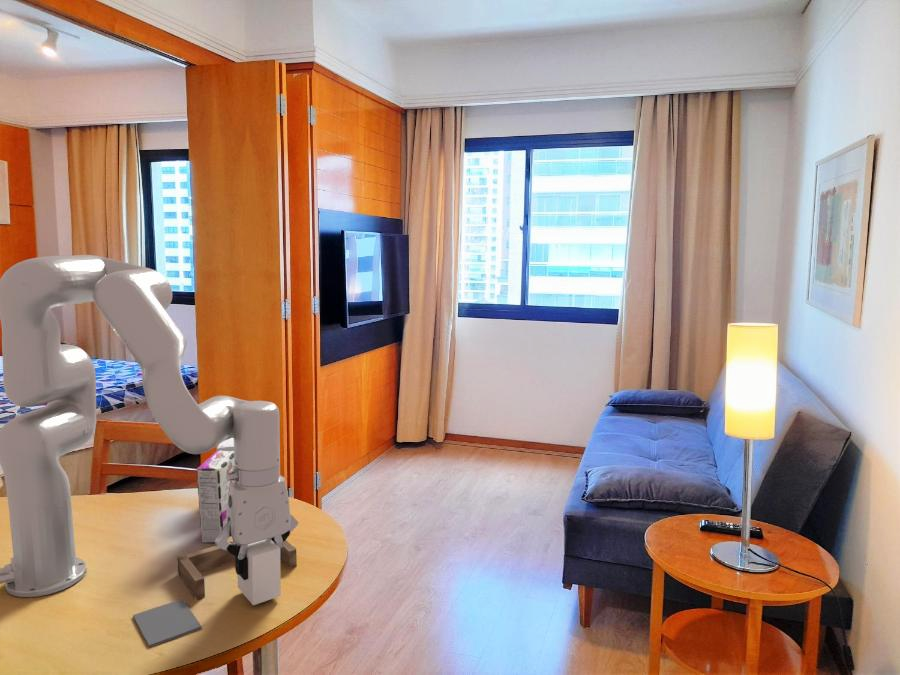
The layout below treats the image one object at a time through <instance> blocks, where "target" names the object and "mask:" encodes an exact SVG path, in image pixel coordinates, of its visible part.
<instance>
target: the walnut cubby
mask: <svg viewBox="0 0 900 675" xmlns="http://www.w3.org/2000/svg"><path fill="white" fill-rule="evenodd" d="M270 539H271V538H270ZM229 542H230V543H232V544H234V541H233V540H232V541H229ZM297 556H298V555H297V548H295V547H294V546H293V545H292V544H291V543H290V542H288V541H287V539H286V540H285V541H284V545H283V547H282V548H281V562H282V563H283V564H284V565H285V566H286V567H287V566H288V567H289V568H290V569H292V568H295V567H294V566H296V567H297V563H298V562H297ZM176 559H177V574H178V576H179V577H180V579H181V580H182V581H183V583H184V584H185V585H186V588H188V590H189V591H190V593H191V594H192V596H193V597H194V598H195V600H199V599H202V598H206V591H205V590H206V588H205V587H206V586H205V578H204V576H203V575H202V574H201V572H204V571H206V570H210V569H209V568H211V569H214V568H217V567H220V566H224V565H226V563H227V564H231V563H234V562H235V556H234V555H232V554H231V553H229V552H228V551H226V550H224V549H221V548H219V547H218V546H217V545H214V546H211V547H207V548H204V549H203V548H202V549H200V550H197V551H193V552H190V553H187V554H184V555H183V554H182V555H179V556H177V558H176ZM223 564H224V565H223ZM213 567H214V568H213ZM288 567H287V568H288ZM289 568H288V569H289ZM203 570H204V571H203Z"/></svg>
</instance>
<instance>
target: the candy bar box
mask: <svg viewBox="0 0 900 675" xmlns="http://www.w3.org/2000/svg"><path fill="white" fill-rule="evenodd" d="M233 466H234V451H222V450H219V451H217V450H216V451H215V452H214V453H213V454H212V455H210V457H209V458H207V459H206V460H205V461H204V462H203V463H202V464H201V465H200V466H198V467H197V468H196V478H197V479H196V480H197V496H198V507H199V510H198V511H199V522H200V523H199V526H200V527H199V528H200V529H199V530H200V541H201V543H202V544H215V540H216V539H217V538H218V536H219V535H220V533H221V532H222V530H223V529H224V527H225V526H226V516H227V503H228V496H229V491H230V486H231V483H232V482H234V481H232V480H231V481H227V479H226V474H227V473H230V472H231V471H233Z"/></svg>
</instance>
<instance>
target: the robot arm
mask: <svg viewBox="0 0 900 675" xmlns="http://www.w3.org/2000/svg"><path fill="white" fill-rule="evenodd" d="M172 301H173V288H172V286H171V284H170V282H169V280H168V279H167V278H166V277H165V276H164V275H163V274H162V273H161V272H159V271H157V270H155V269H152V268H149V267H146V266H141V265H137V264H133V263H129V262H126V261H125V262H124V261H121V260H117V259H113V258H108V257H105V256H100V255H95V254H77V255H75V254H74V255H73V254H72V255H71V254H70V255H47V256H39V257H33V258H28V259H25V260H21V261H20V262H17V263H15V264H14V265H12V266H11V267H9V268H8V269H7V270H6V271H5V272H4V273H3V274H2V276H1V277H0V323H1V351H2V352H1V353H2V354H1V355H2V376H3V377H2V378H3V379H2V380H3V381H2V382H3V388H4V393H5V395H6V397H7V399H8V400H9V401H10V403H12V404H13V405H15V406H18V407H21V408H32V407H37V406H42V405H44V404H46V406H43V407H39V408H35V409H33V410H31V411H30V410H29V411H28V412H25V413H22V414H20V415H18V416H16V417H13V418H12V419H10V420H8V421H7V422H6V423H5V424H4V425H3V426H2V427H1V428H0V467H1V470H2V472H3V473H2V474H3V477H4V481H5V489H6V496H7V506H8V513H9V523H10V524H9V525H10V534H11V535H10V536H11V543H12V555H13V557H11V558H10V563H9V564H5V565H4V567H0V585H1V584H4V583H5V590H6V592H7V593H8V594H10V595H12V596H14V597H20V598H35V597H42V596H46V595H50V594H55V593H58V592H59V591H62V590H65V589H67V588H69V587H71V586H74V585H75V584H77V583H78V582H79V581H81V579H82V578H83V577H84V576H85V575H86V573H87V564H86V562H85V560H83V559H81V558H79V557H77V556H76V554H77V553H76V544H75V532H74V519H73V506H72V495H71V484H70V480H69V477H68V474H67V473H66V471H65V470H64V468H63V467H62V466H61V464H60V460H59V459H60V458H61V457H63V456H64V455H66V454H68V453H71V452H72V451H74V450H77V449H79V448H80V447H82V446H84V445H85V444H87V442H89V441H90V440H91V439H92V437H93V435H94V433H95V430H96V425H97V377H96V368H95V365H94V363H93V360H92V358H91V357H90V355H89V354H88V353H87V352H86V351H85V350H84V349H82V348H81V347H79V346H77V345H73V344H67V343H63V344H62V343H61V337H62V336H61V328H60V327H61V326H60V323H59V320H58V318H57V316H56V315H55V313H54V312H53V310H52V309H54V308H58V307H64V306H70V305H79V304H85V303H91V302H92V303H94V305H95V306H96V309H98V311H99V312H100V314H101V315H102V316H103V319H105V320H106V322H107V323H108V324H109V326H110V327H111V329H112V330H113V331H114V333H115V334H116V335H117V337H118V338H119V339H120V341H121V342H122V343H123V344H124V346H125V347H126V349H127V350H128V351H129V353H130V354H131V356H132V357H133V359H134V360H135V361H136V362H137V364H138V366H139V367H140V370H141V381H142V388H143V392H144V397H145V401H146V404H147V406H148V409H149V411H150V413H151V415H152V416H153V418H154V420H155V421H156V422H157V424H158V425H159V427H160V428H161V429H162V430H163V432H164V433H165V435H166V436H167V438H169V440H170V441H171V442H172V443H173V444H174V446H176V447H177V448H179V449H180V450H181V451H183V452H185V453H188V454H192V455H201V454H205V453H208V452H209V451H211V450H214V448H217V447H218V445H219V444H220V443H221V442H223V441H225V440H228V439H230V438H234V466H233V471H231V472H230V473H227V474H226V479H227V481H231V480H232V481H234V482H232V483H231V486H230V491H229V496H228V503H227V516H226V526H225V527H224V529H223V530H222V532H221V533H220V535H219V536H218V538H217V539H216V540H215V543H214V545H215V546H218V547H219V548H221V549H224V550H226V551H228V552H229V553H231V554H232V555H234V556H235V561H234V565H235V567H234V568H235V569H234V570H235V573H236V575H237V574H238V575H240V576H241V577H242V579H243V580H247V579H248V559H247V557H246V556H245V554H246V550H247V546H248V544H251V543H255V542H259V541H262V540H266V539H269V538H271V540H272V541H273V542H274V543H275V544H276V545H277V546H279V547H280V563H281V562H282V561H281V548H282V547H283V545H284V541H285V540H286V541H287V538H289V536H290V535H291V532H293V531H294V530H295V529H296V528H297V527H298V525H299V521H298V520H297V519H296V517H294V516H293V515H292V514H291V509H290V508H291V507H290V500H289V499H290V497H289V492H288V488H287V486H288V485H287V482H286V479H285V477H284V476H282V475H281V463H280V462H281V457H280V456H281V449H280V448H281V445H280V444H281V437H280V436H281V435H280V434H281V433H280V430H281V428H280V425H281V423H280V422H281V419H280V408H279V407H278V406H277V405H276V403H274V402H271V401H265V400H251V401H250V400H245V399H240V398H237V397H234V396H229V395H216V396H213V397H210V398H208V399H206V400H204V401H203V402H200V403H199V404H198V403H197V401H196V400H195V398H194V397H193V396H192V394H191V392H190V391H189V389H188V387H187V386H186V384H185V381H184V378H183V375H182V360H183V357H184V354H185V350H186V348H187V345H188V340H187V338H186V336H185V335H184V334H183V332H182V331H181V330H180V328H179V327H178V326H177V324H176V323H175V321H174V320H173V319H172V317H171V315H170V314H169V313H168V312H167V309H168V308H169V306H170V305H171V303H172ZM230 537H232V538H231V539H232V541H234V544H232V543H230V542H231V541H228V540H229V539H230Z"/></svg>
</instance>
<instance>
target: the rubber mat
mask: <svg viewBox="0 0 900 675" xmlns="http://www.w3.org/2000/svg"><path fill="white" fill-rule="evenodd" d="M132 618H133V620H134V621H135V623H136V625H137V627H138V629H139V630H140V633H141V635H142V637H143V638H144V640H145V642H146V644H147V646H148V648H151V647H154V646H157V645H160V644H162V643H166V642H168V641H171V640H173V639H177V638H179V637H182V636H185V635H188V634H190V633H193V632H196V631H199V630H202V629H203V628H202V625H201V623H200V621H199V620H198V619H197V617H196V616H195V614H194V613H193V612H192V610H191V609H190V607H189V606H188V604H187V603H186V602H185V600H184V598H180V599H178V600H175V601H171V602H169V603H165V604H161V605H160V606H159V605H158V606H155V607H153V608H150V609H148V610H144V611H141V612H137V613H135V614H132Z"/></svg>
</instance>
